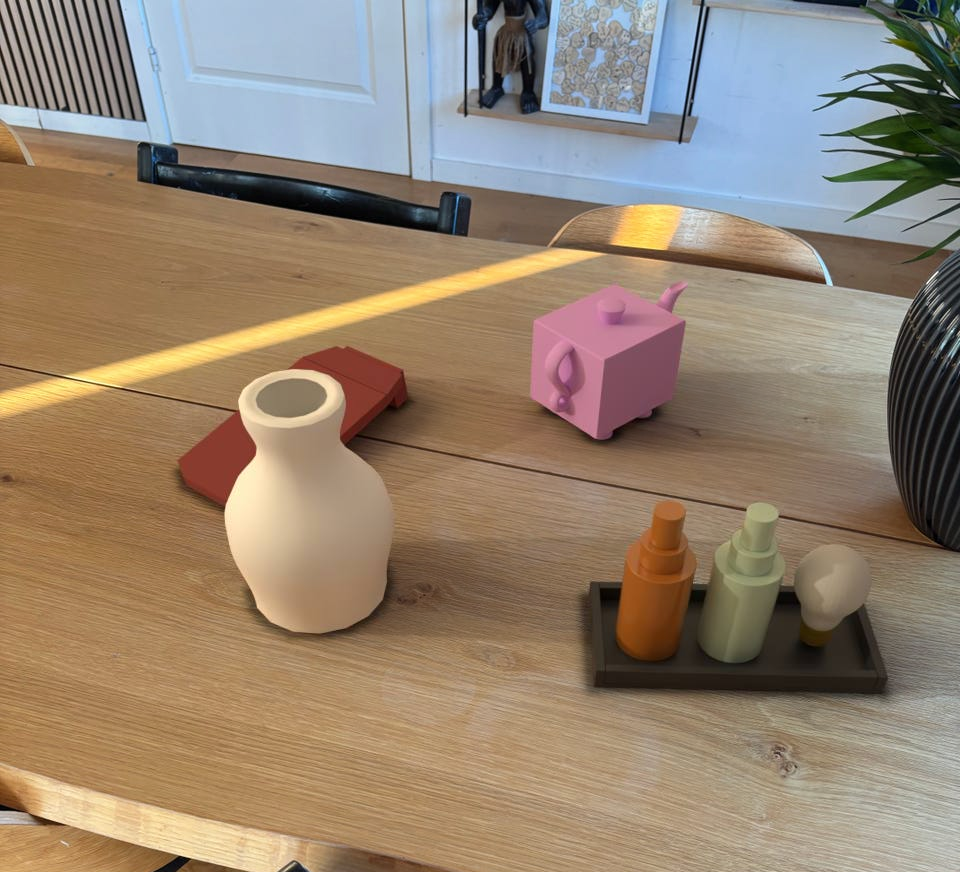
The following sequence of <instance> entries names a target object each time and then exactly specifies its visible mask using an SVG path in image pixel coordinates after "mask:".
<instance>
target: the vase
mask: <svg viewBox="0 0 960 872" xmlns="http://www.w3.org/2000/svg"><path fill="white" fill-rule="evenodd" d="M237 400H238V410H240V414H241V418H242V421H243V424H244V426H245V428H246V430H247V431H248V433H249V434H250V436H251V437H252V439H253V440H254V442H255V444H256V447H257V450H256V456H255V457H254V459H253V460H252V461H251V463H250V464H249V465H248V466H247V467H246V468H245V469H244V470H243V471H242V473H241V474H240V475H239V476H238V478H237V480H236V482H235V485H234V487H233V489H232V492H231V494H230V496H229V499H228V501H227V503H226V507H224V508H225V509H224V526H225V530H226V536H227V540H228V541H227V542H228V545H229V549H230V553H231V555H232V558H233V561H234V563H235V564H236V566H237V569H238V571H240V574H241V575H242V576H243V579H244V580H245V582H246V584H247V586H248V588H249V589H250V591H251V592H252V595H253V598H254V600H255V605H256V608H257V609H258V610H259V612H261V614H262V615H263V616H264V617H265V618H266V619H267V620H268V621H269V622H270V623H271V624H274V625H277V626H279V627H281V628H283V629H286V630H288V631H290V632H294V633H307V634H324V633H330V632H334V631H338V630H344V629H348V628H349V627H352V626H353V625H354V624H356V623H358V622H360V621H362V620H364V619H365V618H367V617H370V615H371V614H372V613H373V612H374V610H375V609H376V608H377V607H379V605H380V603H382V601H383V600H384V595H385V591H386V587H387V583H388V578H387V570H388V562H389V557H390V552H391V548H392V544H393V539H394V533H395V523H396V519H395V511H394V507H393V503H392V500H391V497H390V495H389V492H388V490H387V487H386V485H385V482H384V480H383V479H382V477H381V475H380V474H379V473H378V471H376V469H375V468H373V466H371V465H370V464H369V463H367V462H366V461H365V460H364V459H363V458H361V456H359V455H358V454H356V453H355V452H353V451H352V450H350V448H347V447H346V445H343V443H342V442H341V441H340V429H341V424H342V421H343V417H344V414H345V409H346V400H345V395H344V392H343V390H342V387H341V384H340V383H338V382H337V381H336V380H335V379H333V378H332V377H331V376H329V375H326V374H323V373H320V372H317V371H313V370H299V369H291V370H287V369H285V370H279V371H278V370H277V371H273V372H269V373H268V374H265V375H262V376H260V377H257V378H255V379H254V380H253V381H252V382H250V383H249V384H248V385H246V386H245V387H244V388H243V389H242V391H241V394H240V395H239V398H238V399H237Z"/></svg>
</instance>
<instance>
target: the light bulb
mask: <svg viewBox="0 0 960 872" xmlns="http://www.w3.org/2000/svg"><path fill="white" fill-rule="evenodd" d="M872 581H873V578H872V572H871V569H870V566H869V563H868V562H867V560H866V559H865V558H864V557H863V555H862V554H861V553H859V552H858V551H857V550H856V549H854V548H852V547H849V546H847V545H843V544H838V543H837V544H836V543H835V544H834V543H833V544H824V545H821V546H817V547H816V548H814V549H812V550H811V551H809V552H808V553H806V554H805V556H803V558H802V559H801V560H800V561H799V563H798V565H797V567H796V568H795V572H794V577H793V586H794V588H795V592H796V595H797V597H798V599H799V601H800V603H801V615H802V619H801V624H800V627H799V631H798V634H799V637H800V639H801V640H802V641H803V642H805V643H807V644H809V645H812V646H823V645H825V644H827V643H828V642H829V640H830V638H831V635H832V633H833V631H834V629H835V627H836V626H837V625H838V624H839V623H840V622H841V620H842V619H843V618H844V617H845V616H847V615H849V614H851V613H853V612H854V611H856V610H857V609H858V608H859V607H861V606H862V604H863V603H864V604H865V602H866V600H867V599H868V597H869V596H870V593H871V589H872Z"/></svg>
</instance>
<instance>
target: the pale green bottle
mask: <svg viewBox="0 0 960 872" xmlns="http://www.w3.org/2000/svg"><path fill="white" fill-rule="evenodd" d="M779 512H780V511H779V510H778V508H777V507H775V505H772V504H770V503H767V502H763V501H762V502H761V501H758V502H754V503H751V504H749V506H747V508H746V511H745V515H744V519H743V524H742V527H741V528H740V529H738V530H736V531H735V532H734V533H733V534H732V536H731V540H728V541H725V542H723V543H722V544H721V545H719V546H718V547H717V549H716V550H715V552H714V555H713V560H712V564H711V568H710V572H709V578H708V580H707V581H708V582H707V584H708V586H707V590H706V594H705V599H704V603H703V608H702V612H701V616H700V621H699V625H698V630H697V640H698V643H699V645H700V647H701V648H702V649H703V651H705V652H706V653H707V654H708V655H709V656H711V657H713V658H715V659H717V660H720V661H723V662H727V663H743V662H747V661H750V660H752V659H754V658H755V657H756V656H757V655H758V654H759V653H760V652H761V650H762V647H763V644H764V641H765V637H766V634H767V631H768V627H769V624H770V621H771V617H772V614H773V611H774V607H775V604H776V601H777V597H778V594H779V591H780V587H781V586H782V584H783V580H784V578H785V574H786V569H787V564H786V560H785V558H784V556H783V555H782V553H781V552H779V542H778V539H777V538H776V536H775V531H776V528H777V525H778V521H779V518H780V513H779Z"/></svg>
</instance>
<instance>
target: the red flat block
mask: <svg viewBox="0 0 960 872" xmlns="http://www.w3.org/2000/svg"><path fill="white" fill-rule="evenodd" d="M291 369H299V370H313V371H317V372H320V373H323V374H326V375H329V376H331V377H332V378H333V379H335V380H336V381H337V382H338V383H340V384H341V387H342V390H343V392H344V395H345V400H346V409H345V414H344V417H343V421H342V424H341V429H340V441H341V442H342V443H343V445H344V446H346V445H347V443H348V442H350V441H351V440H352V439H353V438H354V437H355V436H356V435H357V434H358V433H359V432H361V430H363V429H364V428H365V427H366V426H367V425H368V424H370V423H371V421H373V420H374V419H375V418H376V417H377V416H379V414H380V413H382V411H384V410H385V409H386V408H387V407H388V406H391V407H393V408H395V409H398V408H399V407H400V406H402V404H403V403H405V402H406V401H407V400H408V399H409V394H408V389H407V383H406V377H405V372H404V369H402V368H401V367H398V366H395V365H394V364H391V363H389V362H386V361H384V360H381V359H379V358H377V357H374V356H372V355H370V354H368V353H365V352H364V351H361V350H358V349H356V348H354V347H352V346H349V345H346V346H345V347H344V348H342V347H340V346H337V345H335V346H333V347H328V348H326V349H323V350H320V351H316V352H313V353H310V354H307V355H304V356H302V357H300V358H299V359H298V360H297V361H296V362H294V363H293V364H292V365H291V366H289V367H288V368H287V369H286V370H291ZM256 450H257V447H256V444H255V442H254V440H253V439H252V437H251V436H250V434H249V433H248V431H247V430H246V428H245V426H244V424H243V421H242V418H241V414H240V410H239V409H237V410H236V411H235V412H234V413H232V415H230V416H229V417H228V418H227V419H225V420H224V421H223V422H222V423H220V424H219V425H218V426H217V427H216V428H214V429H213V430H212V431H211V432H210V433H208V434H207V435H206V436H205V437H203V438H202V439H201V440H200V441H199V442H198V443H197V444H195V445H194V446H192V448H191V449H189V450H188V451H186V452H185V453H184V454H183V455H182V456H180V457H179V458H178V459H177V464H178V466H179V469H180V471H181V474H182V477H183V480H184V483H185V484H186V486H187V487H188V488H190V489H192V490H193V491H195V492H197V493H199V494H201V495H203V496H204V497H206V498H208V499H210V500H212V501H213V502H215V503H217V504H219V505H221V506H222V507H224V508H226V503H227V501H228V499H229V496H230V494H231V492H232V489H233V487H234V485H235V482H236V480H237V478H238V476H239V475H240V474H241V473H242V471H243V470H244V469H245V468H246V467H247V466H248V465H249V464H250V463H251V461H252V460H253V459H254V457H255V456H256Z"/></svg>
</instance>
